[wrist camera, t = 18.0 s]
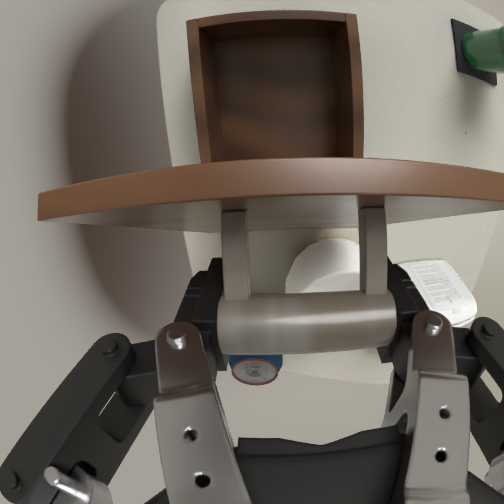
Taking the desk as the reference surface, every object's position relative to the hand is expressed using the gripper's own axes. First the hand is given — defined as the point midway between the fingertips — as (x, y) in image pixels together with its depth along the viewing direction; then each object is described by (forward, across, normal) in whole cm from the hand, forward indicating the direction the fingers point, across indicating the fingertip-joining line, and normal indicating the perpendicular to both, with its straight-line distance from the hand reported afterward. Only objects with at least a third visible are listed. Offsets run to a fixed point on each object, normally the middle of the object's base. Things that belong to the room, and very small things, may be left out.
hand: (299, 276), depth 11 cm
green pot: (+23, -28, -17) cm, 40 cm away
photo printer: (+24, -21, +16) cm, 36 cm away
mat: (+23, -28, -18) cm, 40 cm away
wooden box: (+23, 0, -6) cm, 24 cm away
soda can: (+24, +4, +22) cm, 33 cm away
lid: (+6, 0, 0) cm, 6 cm away
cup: (+24, -6, +14) cm, 29 cm away
